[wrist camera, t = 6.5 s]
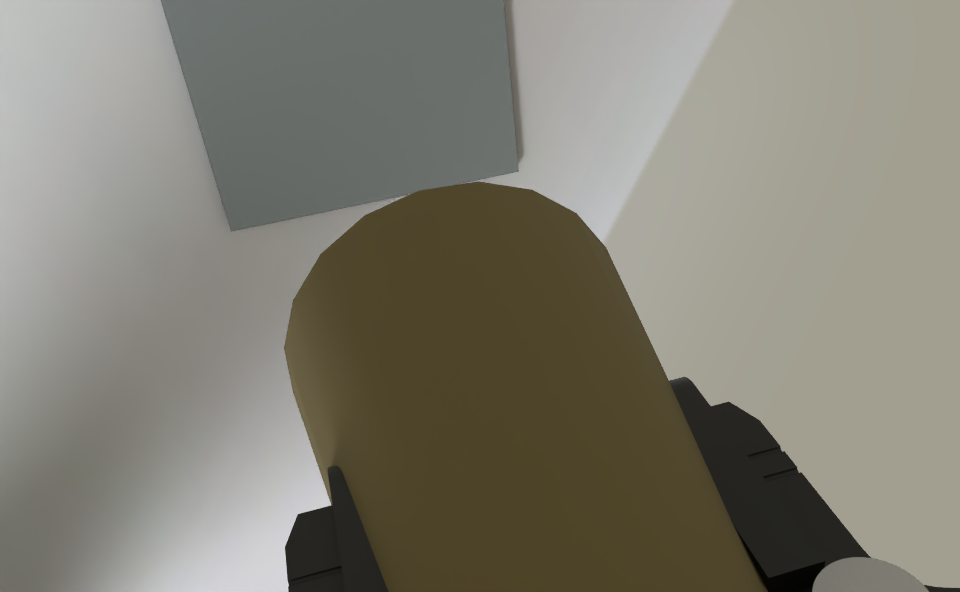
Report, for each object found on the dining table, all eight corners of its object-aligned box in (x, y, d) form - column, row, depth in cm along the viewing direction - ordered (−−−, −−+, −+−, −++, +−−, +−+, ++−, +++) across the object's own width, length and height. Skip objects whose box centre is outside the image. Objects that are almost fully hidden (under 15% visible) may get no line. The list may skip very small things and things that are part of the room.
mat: (515, 167, 34) (518, 171, 33) (231, 226, 32) (231, 231, 32) (488, -147, 27) (491, -146, 27) (133, -94, 26) (132, -92, 25)
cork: (600, 136, 14) (1314, 865, 5) (634, 410, 17) (1089, 1135, 8) (230, 246, 13) (254, 1315, 4) (342, 507, 17) (487, 1403, 8)
